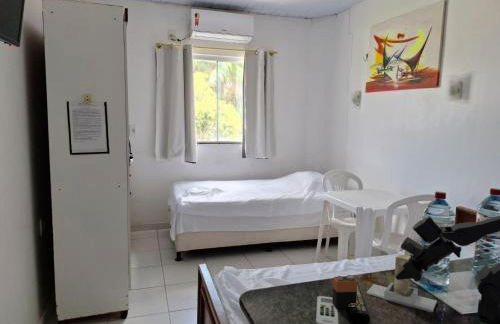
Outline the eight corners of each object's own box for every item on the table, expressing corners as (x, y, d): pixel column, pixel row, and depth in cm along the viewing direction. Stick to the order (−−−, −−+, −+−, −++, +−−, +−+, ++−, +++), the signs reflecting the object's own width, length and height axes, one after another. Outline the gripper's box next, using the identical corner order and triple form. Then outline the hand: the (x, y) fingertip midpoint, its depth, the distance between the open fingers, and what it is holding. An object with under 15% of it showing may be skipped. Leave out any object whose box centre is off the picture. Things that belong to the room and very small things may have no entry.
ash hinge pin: (408, 295, 123) (410, 256, 122) (406, 299, 120) (408, 259, 118) (396, 292, 125) (398, 253, 124) (393, 296, 122) (395, 256, 121)
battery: (356, 308, 115) (357, 278, 114) (336, 309, 114) (337, 279, 114) (351, 301, 119) (352, 273, 118) (331, 302, 119) (333, 273, 118)
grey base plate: (436, 302, 120) (437, 293, 120) (432, 313, 113) (432, 304, 113) (373, 285, 132) (374, 277, 132) (366, 294, 125) (366, 286, 125)
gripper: (422, 226, 126) (388, 249, 133) (411, 238, 111) (374, 264, 118) (446, 252, 122) (410, 275, 129) (438, 269, 107) (397, 294, 114)
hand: (398, 276), depth 123 cm, fingers closed on ash hinge pin, 4 cm apart
